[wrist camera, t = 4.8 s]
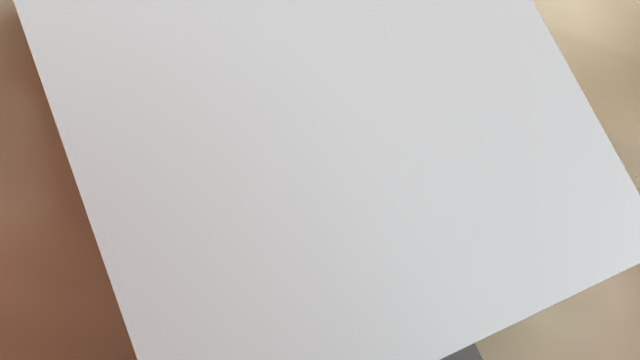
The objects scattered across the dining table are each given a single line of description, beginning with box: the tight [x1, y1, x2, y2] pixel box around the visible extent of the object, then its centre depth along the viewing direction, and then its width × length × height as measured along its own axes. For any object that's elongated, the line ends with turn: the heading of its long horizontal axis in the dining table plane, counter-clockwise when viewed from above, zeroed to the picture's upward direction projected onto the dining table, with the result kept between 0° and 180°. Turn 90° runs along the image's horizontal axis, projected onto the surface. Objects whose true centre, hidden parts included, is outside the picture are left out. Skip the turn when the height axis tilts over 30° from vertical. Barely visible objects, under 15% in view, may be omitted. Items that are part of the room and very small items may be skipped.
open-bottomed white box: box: [13, 0, 640, 360], centre depth 11 cm, size 5×5×10 cm
